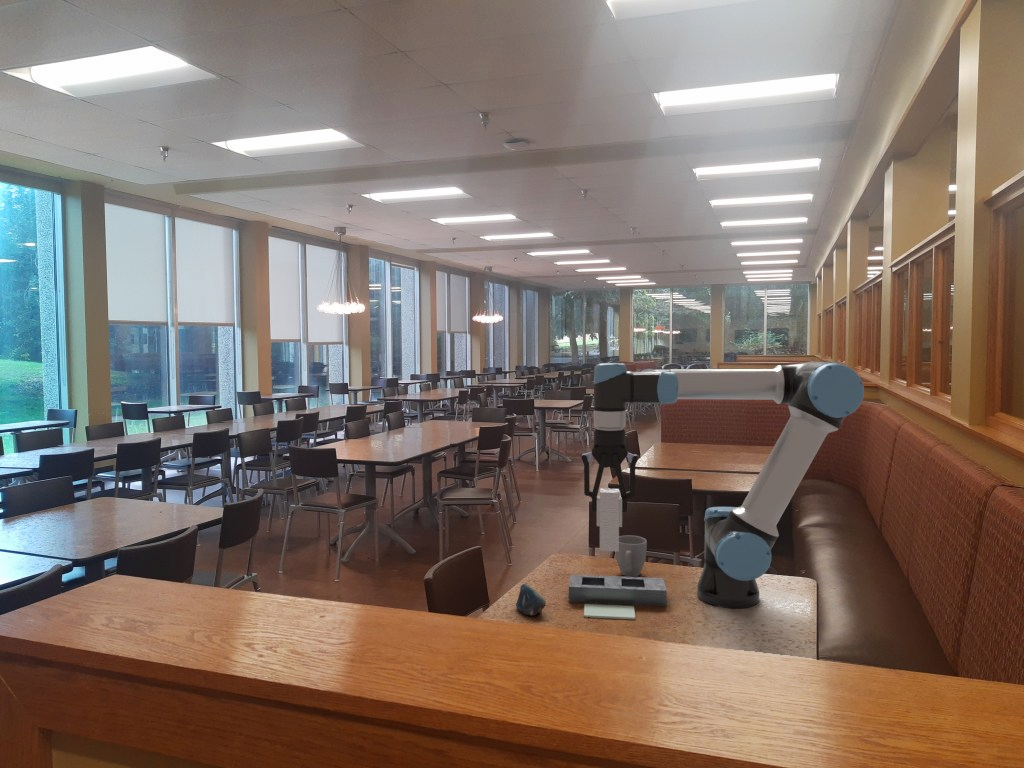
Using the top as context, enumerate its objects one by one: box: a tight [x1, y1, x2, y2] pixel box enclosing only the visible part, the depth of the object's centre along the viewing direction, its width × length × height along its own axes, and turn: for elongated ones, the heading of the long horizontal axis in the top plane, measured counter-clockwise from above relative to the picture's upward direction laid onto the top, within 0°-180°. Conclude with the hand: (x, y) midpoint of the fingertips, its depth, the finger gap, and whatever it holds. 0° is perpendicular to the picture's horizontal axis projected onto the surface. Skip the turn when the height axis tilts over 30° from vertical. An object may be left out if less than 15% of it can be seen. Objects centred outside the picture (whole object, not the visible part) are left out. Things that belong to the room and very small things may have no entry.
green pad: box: [583, 603, 636, 621], centre depth 165 cm, size 12×7×1 cm, turn 82°
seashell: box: [515, 583, 547, 616], centre depth 167 cm, size 6×9×10 cm
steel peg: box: [599, 487, 620, 552], centre depth 164 cm, size 4×4×14 cm
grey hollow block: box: [568, 574, 668, 607], centre depth 175 cm, size 24×9×4 cm, turn 82°
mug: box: [614, 534, 648, 577], centre depth 191 cm, size 12×9×10 cm
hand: (609, 524), depth 164 cm, fingers closed on steel peg, 4 cm apart
